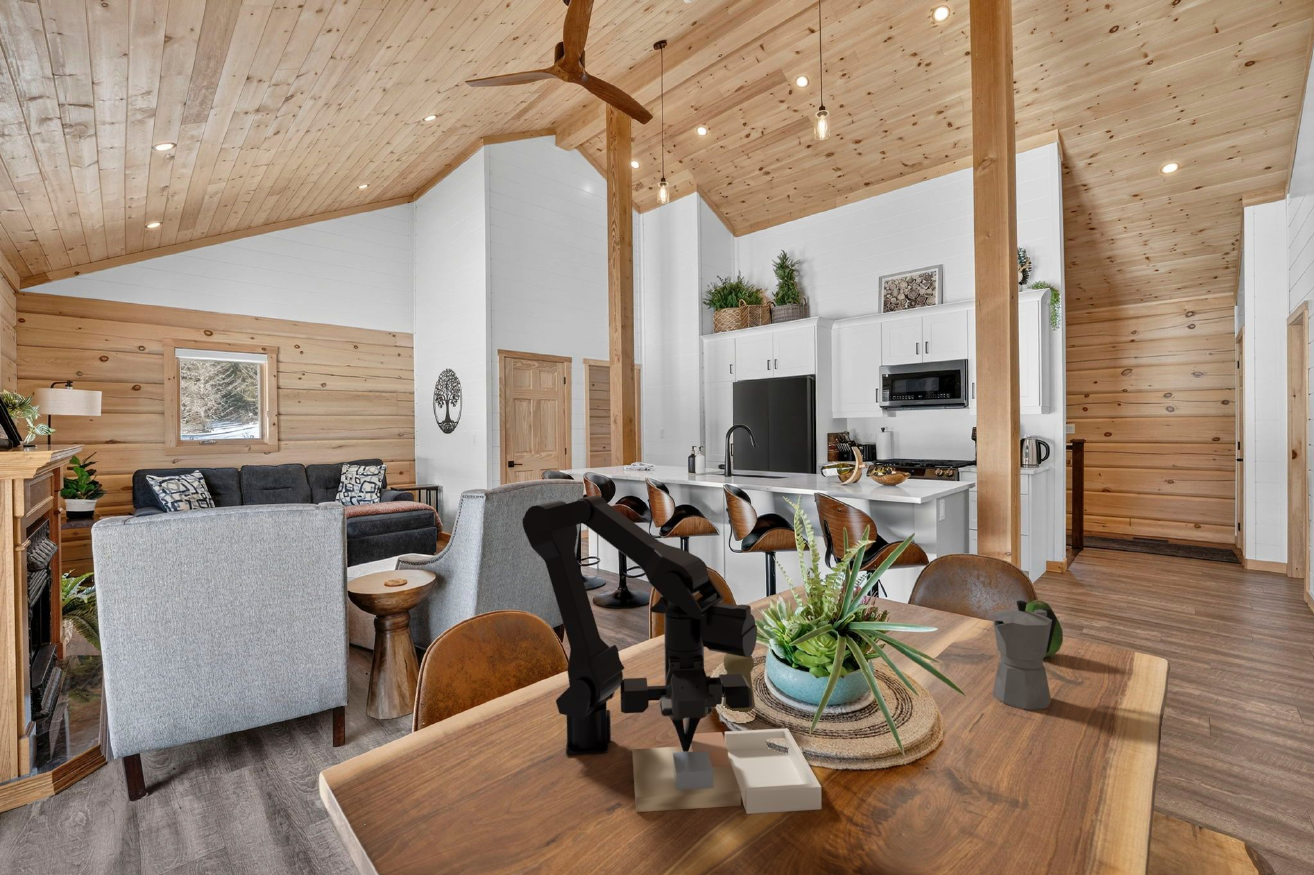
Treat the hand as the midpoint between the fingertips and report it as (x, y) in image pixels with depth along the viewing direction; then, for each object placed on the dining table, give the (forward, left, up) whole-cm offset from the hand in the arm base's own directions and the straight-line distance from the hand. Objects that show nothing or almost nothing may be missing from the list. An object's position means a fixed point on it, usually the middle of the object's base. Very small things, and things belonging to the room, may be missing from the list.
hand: (685, 750), depth 91 cm
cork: (+11, +17, -4) cm, 20 cm away
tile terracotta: (+3, 0, -1) cm, 4 cm away
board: (-1, -2, -3) cm, 4 cm away
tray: (+11, -2, -3) cm, 12 cm away
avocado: (+80, +36, -4) cm, 88 cm away
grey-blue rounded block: (0, -5, -1) cm, 5 cm away
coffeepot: (+64, +18, -4) cm, 67 cm away
